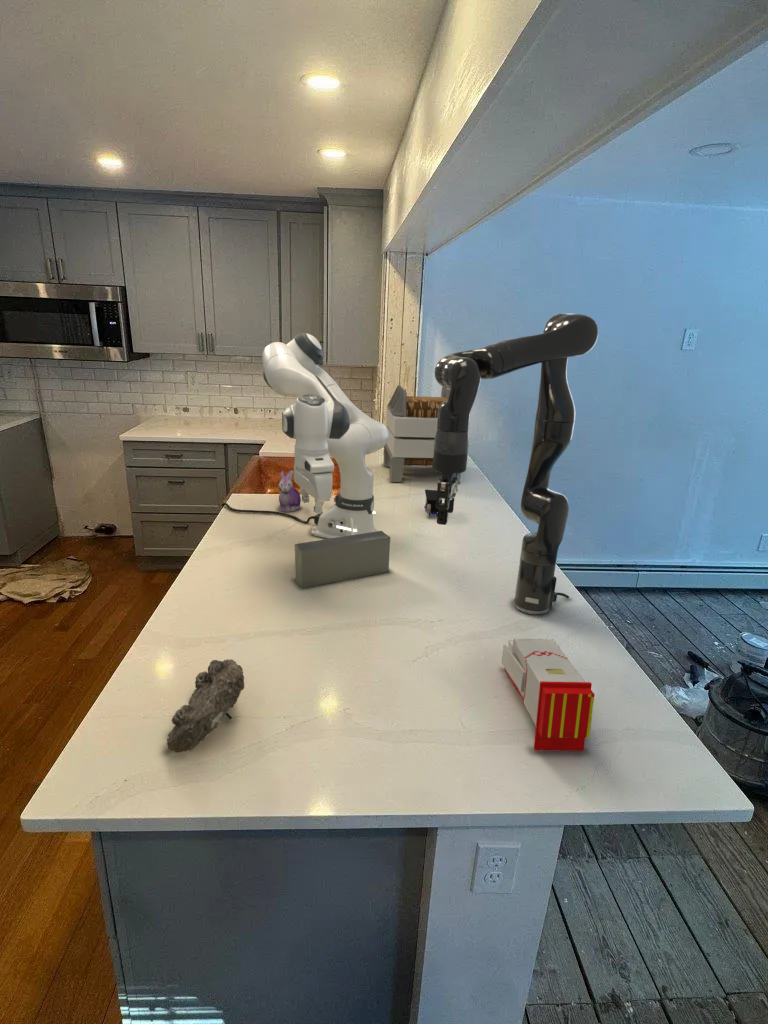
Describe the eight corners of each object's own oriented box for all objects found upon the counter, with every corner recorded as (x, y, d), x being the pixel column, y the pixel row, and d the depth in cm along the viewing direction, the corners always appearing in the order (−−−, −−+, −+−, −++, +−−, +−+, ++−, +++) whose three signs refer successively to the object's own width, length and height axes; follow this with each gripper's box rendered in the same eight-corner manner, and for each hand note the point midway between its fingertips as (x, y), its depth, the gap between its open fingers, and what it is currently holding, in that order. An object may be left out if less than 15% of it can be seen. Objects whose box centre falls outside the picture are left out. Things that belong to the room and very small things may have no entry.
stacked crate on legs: (382, 463, 289) (386, 382, 275) (445, 464, 293) (451, 384, 279) (390, 482, 257) (394, 392, 243) (460, 483, 261) (468, 394, 247)
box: (301, 588, 158) (301, 551, 155) (295, 580, 163) (294, 543, 159) (388, 571, 171) (390, 537, 167) (379, 564, 175) (381, 530, 172)
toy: (549, 621, 128) (604, 690, 99) (544, 676, 131) (595, 758, 101) (496, 620, 128) (535, 688, 98) (492, 675, 130) (528, 757, 101)
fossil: (192, 660, 117) (244, 628, 112) (224, 691, 120) (276, 661, 115) (142, 746, 98) (202, 712, 93) (182, 779, 101) (242, 748, 96)
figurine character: (442, 522, 216) (438, 505, 229) (444, 504, 213) (440, 488, 226) (425, 521, 216) (422, 504, 229) (426, 504, 212) (423, 487, 226)
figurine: (281, 513, 213) (281, 475, 208) (273, 505, 222) (272, 468, 217) (305, 510, 217) (305, 473, 212) (296, 502, 226) (296, 466, 221)
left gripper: (287, 450, 157) (288, 497, 162) (313, 468, 140) (313, 521, 145) (309, 448, 160) (309, 494, 165) (337, 466, 143) (336, 518, 148)
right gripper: (463, 458, 118) (456, 530, 123) (472, 444, 131) (465, 510, 136) (427, 454, 120) (422, 526, 125) (440, 441, 133) (435, 506, 138)
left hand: (311, 507), depth 155 cm, fingers open, 8 cm apart
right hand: (445, 517), depth 131 cm, fingers open, 8 cm apart
